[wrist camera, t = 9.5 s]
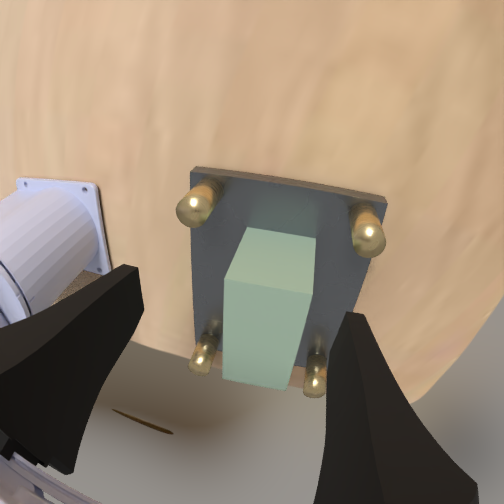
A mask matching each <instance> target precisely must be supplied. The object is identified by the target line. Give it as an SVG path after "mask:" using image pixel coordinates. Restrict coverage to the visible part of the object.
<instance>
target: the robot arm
mask: <svg viewBox="0 0 504 504" xmlns="http://www.w3.org/2000/svg"><path fill="white" fill-rule="evenodd" d="M16 185H17V191H15V192H14V193H12V194H11V195H9V196H7V197H6V198H4V199H3V200H1V201H0V504H54V503H52V502H51V501H49V500H47V499H45V498H44V495H43V491H44V492H46V493H48V494H49V495H51V496H53V497H54V498H56V499H57V500H59V501H61V502H63V503H64V504H101V503H99V502H97V501H95V500H93V499H91V498H89V497H87V496H85V495H83V494H82V493H80V492H78V491H76V490H74V489H72V488H71V487H68V486H67V485H65V484H64V483H62V482H60V481H58V480H56V479H55V478H53V477H52V476H50V475H48V474H47V473H45V472H44V471H42V470H41V469H39V468H37V467H36V465H37V463H39V464H41V465H42V466H44V467H47V466H48V465H49V466H51V467H52V468H54V469H56V470H57V471H59V472H61V473H63V474H64V475H68V474H71V473H73V472H74V467H75V463H76V459H77V455H78V450H79V447H80V443H81V440H82V436H83V434H84V431H85V427H86V424H87V422H88V419H89V416H90V414H91V411H92V409H93V406H94V403H95V401H96V399H97V396H98V394H99V392H100V390H101V387H102V386H103V384H104V382H105V380H106V378H107V376H108V375H109V373H110V371H111V370H112V368H113V366H114V365H115V363H116V361H117V360H118V358H119V356H120V355H121V353H122V351H123V350H124V348H125V347H126V345H127V343H128V342H129V340H130V339H131V337H132V335H133V334H134V332H135V330H136V327H137V325H138V323H139V321H140V319H141V316H142V314H143V312H144V304H143V298H142V292H141V285H140V278H139V270H138V267H134V266H130V265H126V264H123V265H121V266H119V267H117V268H115V269H114V270H111V265H110V260H109V255H108V250H107V245H106V239H105V233H104V228H103V221H102V215H101V208H100V201H99V194H98V188H97V186H96V185H95V184H94V183H90V182H79V181H67V180H54V179H41V178H26V177H20V178H18V179H17V180H16ZM85 188H86V189H87V191H86V189H85ZM83 270H85V271H89V272H93V273H97V274H100V275H103V276H102V277H100V278H99V279H97V280H95V281H94V282H92V283H90V284H89V285H87V286H85V287H84V288H82V289H80V290H79V291H77V292H75V293H74V294H72V295H70V296H68V297H67V298H65V299H63V300H61V301H59V302H58V303H56V304H54V305H52V304H53V302H54V301H55V300H56V299H57V298H58V297H59V296H60V295H61V293H62V292H63V291H64V290H65V289H66V288H67V287H68V286H69V285H70V283H71V282H72V281H73V280H74V279H75V278H76V277H77V276H78V275H79V274H80V273H81V272H82V271H83ZM51 305H52V306H51ZM42 490H43V491H42ZM313 504H479V496H478V487H477V483H476V482H475V481H474V480H473V479H472V478H471V477H469V476H468V475H467V474H466V473H465V472H464V471H463V470H462V469H461V468H460V467H459V466H458V465H457V464H456V463H455V462H454V461H453V460H452V459H451V458H450V457H449V456H448V454H447V453H446V452H445V451H444V450H443V449H442V448H441V446H440V445H439V444H438V443H437V442H436V440H435V439H434V438H433V437H432V435H431V434H430V433H429V431H428V430H427V429H426V428H425V426H424V425H423V423H422V422H421V421H420V419H419V418H418V416H417V415H416V413H415V412H414V411H413V409H412V407H411V406H410V404H409V403H408V401H407V399H406V398H405V396H404V394H403V392H402V391H401V389H400V387H399V385H398V384H397V382H396V380H395V378H394V376H393V374H392V372H391V370H390V368H389V366H388V364H387V362H386V360H385V358H384V356H383V354H382V352H381V350H380V348H379V346H378V344H377V342H376V339H375V337H374V335H373V333H372V331H371V328H370V326H369V324H368V322H367V320H366V317H365V316H364V314H359V313H354V312H348V311H346V313H345V316H344V318H343V321H342V323H341V325H340V328H339V330H338V333H337V335H336V338H335V340H334V342H333V345H332V347H331V349H330V353H329V361H328V370H327V389H326V436H325V447H324V453H323V460H322V465H321V471H320V476H319V481H318V486H317V491H316V496H315V499H314V503H313Z"/></svg>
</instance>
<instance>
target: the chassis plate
mask: <svg viewBox="0 0 504 504" xmlns="http://www.w3.org/2000/svg"><path fill="white" fill-rule="evenodd" d="M387 204H388V203H387V201H386V199H385V197H383V196H379V195H374V194H369V193H364V192H359V191H355V190H349V189H344V188H339V187H334V186H328V185H323V184H317V183H312V182H306V181H300V180H294V179H288V178H281V177H275V176H268V175H261V174H254V173H247V172H239V171H232V170H224V169H215V168H207V167H198V166H196V167H195V168H194V169H193V170H191V171H190V191H189V192H188V193H187V194H186V195H185V197H184V198H183V199H182V200H181V201H180V202H179V203H178V204H177V207H176V214H177V217H178V219H179V220H180V222H181V223H182V224H184V225H185V226H187V227H191V264H192V289H193V309H194V326H195V341H196V345H197V346H196V348H195V350H194V353H193V355H192V357H191V360H190V362H189V365H188V369H189V370H190V371H191V372H192V373H194V374H196V375H198V376H206V375H207V374H208V373H209V370H210V368H211V365H212V362H213V359H214V357H215V354H216V351H217V350H218V351H223V309H224V278H225V276H226V274H227V271H228V269H229V267H230V265H231V262H232V260H233V258H234V256H235V253H236V251H237V249H238V246H239V244H240V242H241V240H242V237H243V235H244V233H245V231H246V228H247V227H250V228H256V229H262V230H268V231H274V232H280V233H286V234H292V235H298V236H304V237H310V238H316V247H315V265H314V282H313V295H312V299H311V303H310V307H309V311H308V315H307V318H306V322H305V326H304V330H303V333H302V337H301V341H300V344H299V348H298V351H297V355H296V358H295V362H294V366H301V367H306V371H305V380H304V389H303V393H304V395H305V396H307V397H310V398H319V397H322V396H323V395H324V394H325V387H326V370H328V361H329V353H330V349H331V347H332V345H333V342H334V340H335V338H336V335H337V333H338V330H339V328H340V325H341V323H342V321H343V318H344V316H345V313H346V311H348V312H352V311H353V309H354V306H355V303H356V301H357V298H358V295H359V293H360V290H361V287H362V284H363V281H364V278H365V275H366V273H367V270H368V267H369V264H370V261H371V258H373V257H376V256H378V255H379V254H381V253H382V252H383V250H384V249H385V246H386V239H385V236H384V232H383V229H382V226H381V225H382V222H383V219H384V215H385V212H386V208H387Z"/></svg>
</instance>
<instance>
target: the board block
mask: <svg viewBox="0 0 504 504" xmlns="http://www.w3.org/2000/svg"><path fill="white" fill-rule="evenodd" d="M315 247H316V238H310V237H304V236H298V235H292V234H286V233H280V232H274V231H268V230H262V229H256V228H250V227H247V228H246V231H245V233H244V235H243V237H242V240H241V242H240V244H239V246H238V249H237V251H236V253H235V256H234V258H233V260H232V262H231V265H230V267H229V269H228V271H227V274H226V276H225V278H224V309H223V373H222V374H223V379H227V380H231V381H235V382H240V383H245V384H250V385H255V386H260V387H266V388H271V389H277V390H283V391H286V389H287V386H288V382H289V379H290V376H291V372H292V369H293V365H294V362H295V358H296V355H297V351H298V348H299V344H300V341H301V337H302V333H303V330H304V326H305V322H306V318H307V315H308V311H309V307H310V303H311V299H312V295H313V282H314V265H315Z"/></svg>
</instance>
